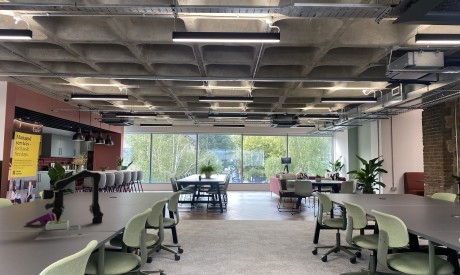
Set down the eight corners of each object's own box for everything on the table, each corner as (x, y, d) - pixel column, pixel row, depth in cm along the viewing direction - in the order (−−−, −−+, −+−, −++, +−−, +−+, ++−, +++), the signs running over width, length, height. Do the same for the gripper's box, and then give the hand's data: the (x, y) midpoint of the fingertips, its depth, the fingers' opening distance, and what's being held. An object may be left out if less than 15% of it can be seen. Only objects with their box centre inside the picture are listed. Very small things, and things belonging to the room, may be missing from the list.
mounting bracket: (28, 234, 234) (53, 223, 239) (23, 224, 234) (48, 213, 238) (33, 232, 243) (57, 220, 248) (28, 222, 243) (52, 211, 247)
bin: (68, 227, 234) (68, 220, 234) (67, 230, 222) (67, 223, 222) (48, 228, 229) (48, 221, 229) (45, 232, 217) (45, 224, 217)
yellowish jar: (55, 224, 227) (55, 211, 227) (61, 223, 228) (61, 211, 229) (54, 225, 223) (55, 212, 224) (60, 224, 225) (61, 211, 225)
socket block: (80, 228, 228) (80, 224, 228) (80, 231, 220) (80, 226, 221) (68, 229, 225) (68, 225, 225) (67, 232, 217) (67, 227, 218)
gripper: (48, 197, 233) (47, 219, 231) (43, 200, 215) (42, 224, 214) (65, 197, 237) (64, 218, 236) (62, 199, 220) (61, 223, 218)
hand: (58, 220), depth 226 cm, fingers closed on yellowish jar, 3 cm apart
